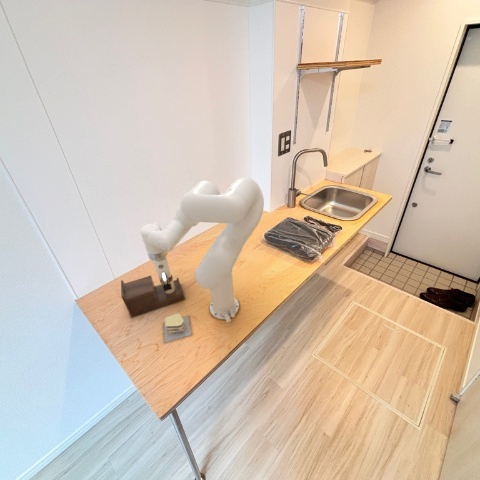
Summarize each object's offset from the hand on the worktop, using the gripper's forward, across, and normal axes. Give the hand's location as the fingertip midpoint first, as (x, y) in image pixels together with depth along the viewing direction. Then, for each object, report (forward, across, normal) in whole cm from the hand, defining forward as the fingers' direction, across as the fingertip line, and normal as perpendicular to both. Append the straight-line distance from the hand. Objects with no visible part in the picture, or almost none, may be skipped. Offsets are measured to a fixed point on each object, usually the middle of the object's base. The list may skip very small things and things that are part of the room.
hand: (166, 282), depth 109 cm
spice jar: (+4, 0, -1) cm, 5 cm away
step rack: (+9, 0, +5) cm, 10 cm away
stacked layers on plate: (+8, -20, 0) cm, 21 cm away
